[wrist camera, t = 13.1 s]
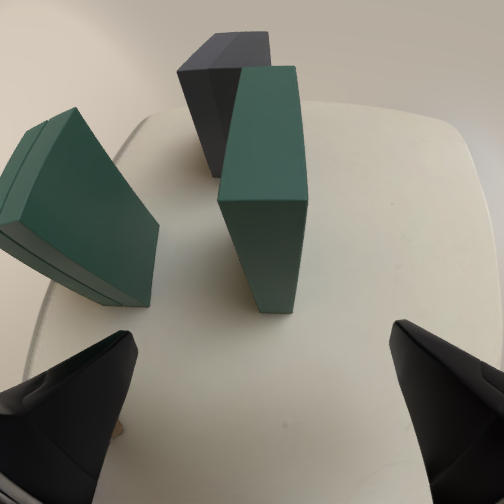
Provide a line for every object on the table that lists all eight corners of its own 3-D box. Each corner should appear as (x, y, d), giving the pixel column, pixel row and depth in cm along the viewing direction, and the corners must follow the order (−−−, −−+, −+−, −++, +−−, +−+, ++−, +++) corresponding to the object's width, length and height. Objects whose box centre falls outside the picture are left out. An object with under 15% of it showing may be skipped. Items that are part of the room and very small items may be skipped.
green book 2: (149, 307, 19) (18, 220, 8) (125, 306, 19) (-5, 226, 8) (159, 225, 22) (76, 105, 10) (137, 227, 22) (49, 118, 11)
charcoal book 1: (235, 179, 23) (207, 68, 13) (212, 177, 24) (175, 71, 14) (255, 128, 26) (241, 31, 16) (234, 126, 26) (214, 33, 16)
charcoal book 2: (259, 182, 23) (242, 67, 13) (235, 179, 23) (207, 68, 13) (276, 130, 25) (268, 31, 16) (254, 128, 26) (240, 31, 16)
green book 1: (123, 306, 20) (-7, 227, 8) (102, 305, 20) (-24, 232, 8) (135, 227, 22) (47, 119, 11) (115, 229, 23) (26, 131, 11)
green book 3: (292, 313, 18) (308, 200, 6) (259, 312, 18) (216, 201, 7) (293, 222, 21) (295, 65, 9) (264, 222, 21) (241, 67, 9)
